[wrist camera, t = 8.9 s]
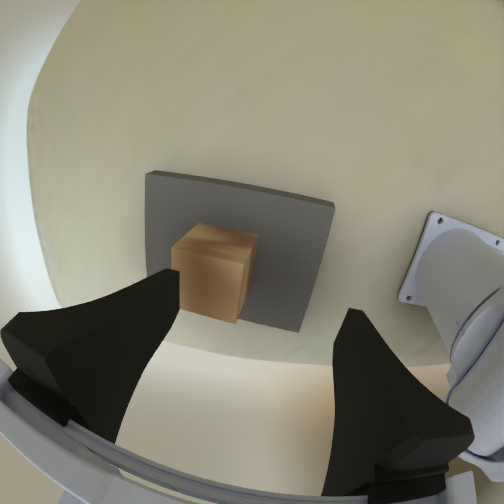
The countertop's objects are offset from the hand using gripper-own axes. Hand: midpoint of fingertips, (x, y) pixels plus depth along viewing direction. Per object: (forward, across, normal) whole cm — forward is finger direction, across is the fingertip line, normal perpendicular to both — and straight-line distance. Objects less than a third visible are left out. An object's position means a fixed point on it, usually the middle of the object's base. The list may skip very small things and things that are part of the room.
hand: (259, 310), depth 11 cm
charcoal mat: (+10, +4, +3) cm, 11 cm away
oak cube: (+9, +4, +3) cm, 10 cm away
